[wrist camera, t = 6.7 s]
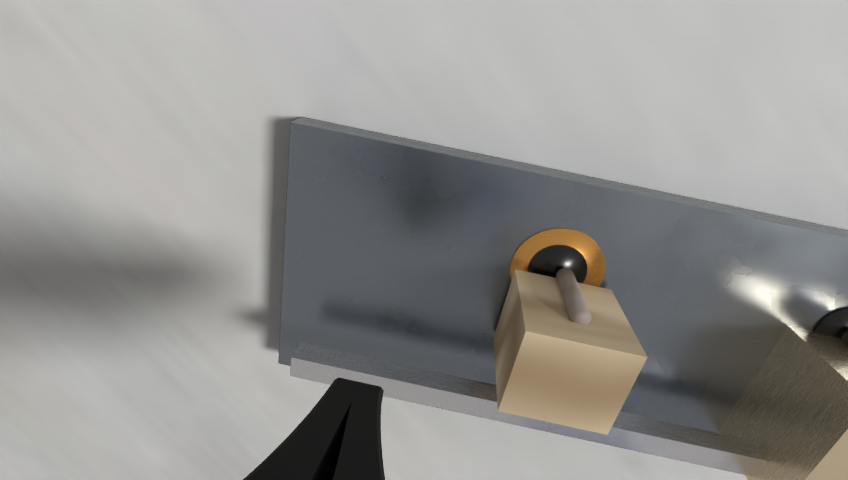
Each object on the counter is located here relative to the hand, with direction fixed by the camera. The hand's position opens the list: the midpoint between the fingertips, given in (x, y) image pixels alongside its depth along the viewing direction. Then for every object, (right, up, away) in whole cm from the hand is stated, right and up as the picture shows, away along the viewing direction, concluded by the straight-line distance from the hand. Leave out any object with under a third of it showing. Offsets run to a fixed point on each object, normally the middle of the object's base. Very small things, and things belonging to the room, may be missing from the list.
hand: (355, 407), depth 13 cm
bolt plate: (+9, +2, +8) cm, 12 cm away
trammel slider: (+7, +2, +6) cm, 10 cm away
